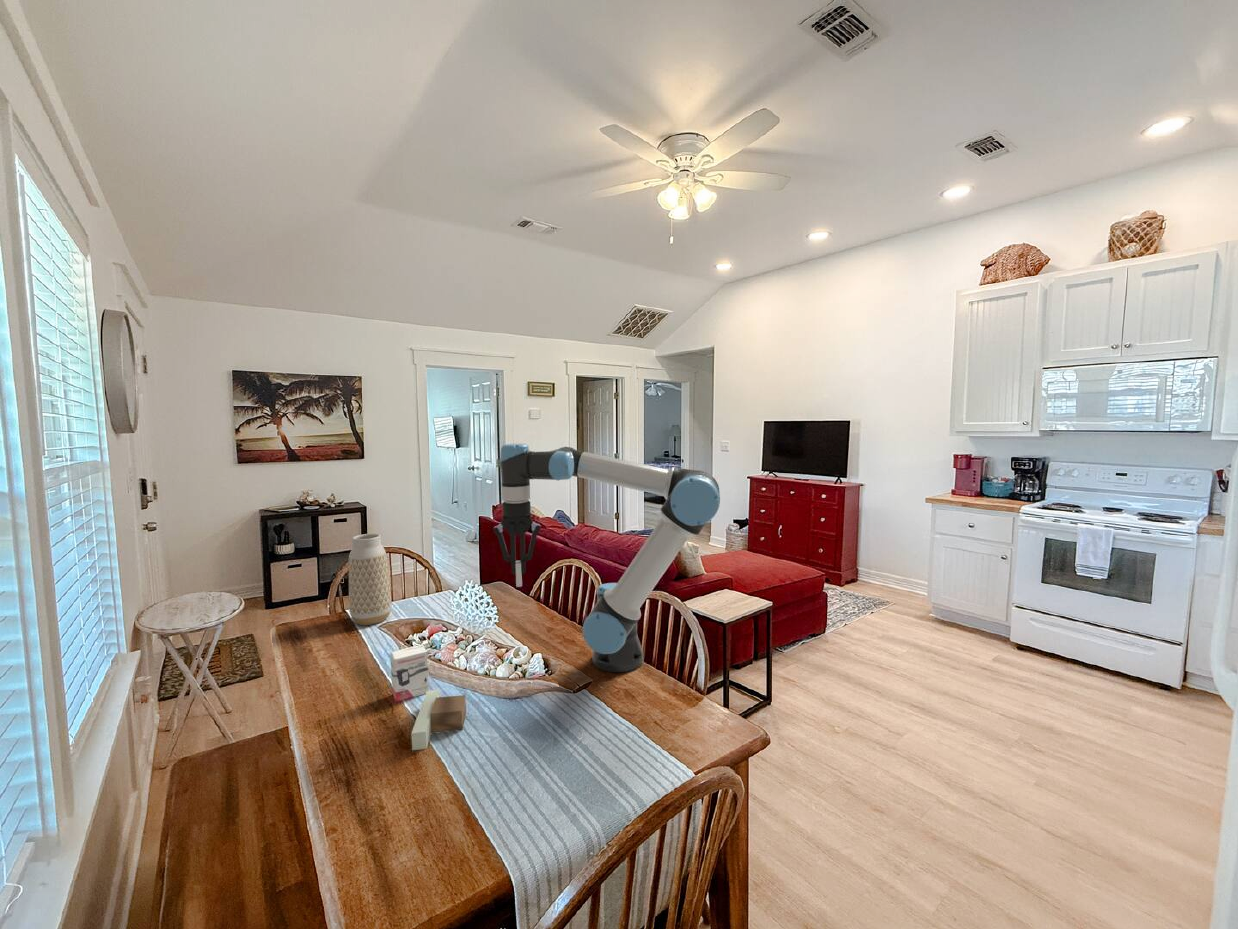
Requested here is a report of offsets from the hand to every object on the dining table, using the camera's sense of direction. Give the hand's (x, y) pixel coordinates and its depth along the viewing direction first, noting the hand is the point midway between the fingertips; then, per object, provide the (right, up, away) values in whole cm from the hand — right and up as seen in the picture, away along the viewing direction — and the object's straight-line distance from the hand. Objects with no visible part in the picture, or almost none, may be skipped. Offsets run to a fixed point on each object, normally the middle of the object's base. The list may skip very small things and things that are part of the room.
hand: (519, 584), depth 147 cm
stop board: (-18, -29, -20) cm, 40 cm away
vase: (-61, -23, +44) cm, 79 cm away
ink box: (-28, -28, -6) cm, 40 cm away
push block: (-13, -29, -19) cm, 37 cm away
